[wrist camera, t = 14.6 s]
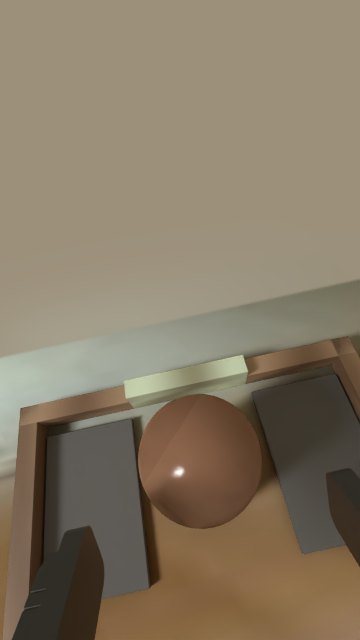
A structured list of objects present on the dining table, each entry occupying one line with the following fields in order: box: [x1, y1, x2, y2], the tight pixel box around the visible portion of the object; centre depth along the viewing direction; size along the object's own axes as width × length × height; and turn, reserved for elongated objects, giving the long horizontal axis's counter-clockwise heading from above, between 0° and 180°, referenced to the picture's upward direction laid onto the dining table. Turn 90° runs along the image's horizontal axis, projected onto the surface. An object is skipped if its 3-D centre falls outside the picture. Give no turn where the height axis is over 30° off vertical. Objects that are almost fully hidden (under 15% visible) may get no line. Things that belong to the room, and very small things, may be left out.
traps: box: [43, 374, 360, 599], centre depth 19 cm, size 20×9×1 cm, turn 101°
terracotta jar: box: [138, 394, 262, 529], centre depth 16 cm, size 5×5×8 cm
